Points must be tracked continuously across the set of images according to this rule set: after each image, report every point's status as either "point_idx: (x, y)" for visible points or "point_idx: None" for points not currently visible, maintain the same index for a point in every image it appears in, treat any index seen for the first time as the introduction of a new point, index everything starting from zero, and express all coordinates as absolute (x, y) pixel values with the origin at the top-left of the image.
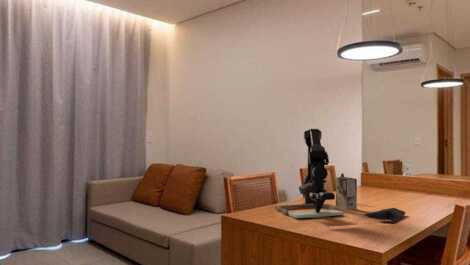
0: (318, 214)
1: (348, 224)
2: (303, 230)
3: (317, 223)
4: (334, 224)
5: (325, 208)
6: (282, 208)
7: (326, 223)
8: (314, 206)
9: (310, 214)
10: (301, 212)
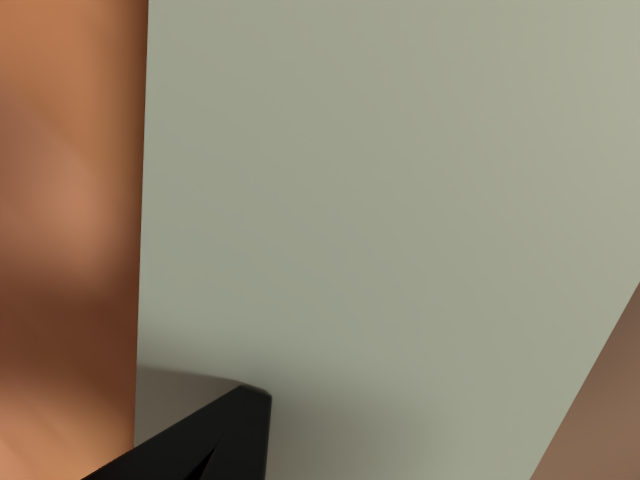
0: (145, 319)
1: (5, 418)
2: None
3: (113, 149)
4: (27, 306)
5: None
6: None
7: (83, 263)
8: None
9: (147, 130)
10: (557, 156)
